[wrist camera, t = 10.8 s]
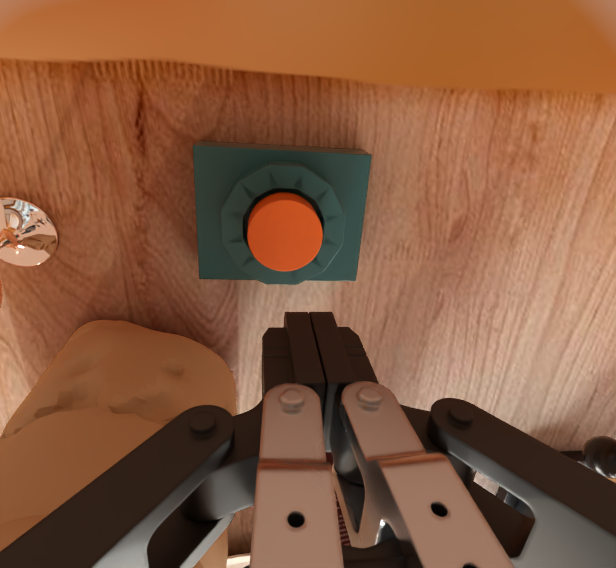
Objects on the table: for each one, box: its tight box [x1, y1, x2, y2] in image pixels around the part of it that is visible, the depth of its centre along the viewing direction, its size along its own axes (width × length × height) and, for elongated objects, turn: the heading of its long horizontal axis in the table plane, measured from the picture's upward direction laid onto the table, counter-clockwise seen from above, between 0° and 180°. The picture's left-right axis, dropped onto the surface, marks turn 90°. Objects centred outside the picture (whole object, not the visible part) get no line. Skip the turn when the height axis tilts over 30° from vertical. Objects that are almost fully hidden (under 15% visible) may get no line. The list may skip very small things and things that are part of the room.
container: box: [0, 320, 236, 568], centre depth 23 cm, size 13×13×18 cm
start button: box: [247, 192, 323, 271], centre depth 23 cm, size 4×4×2 cm
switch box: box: [193, 141, 372, 285], centre depth 25 cm, size 10×8×4 cm
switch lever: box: [582, 436, 616, 483], centre depth 33 cm, size 14×3×3 cm, turn 176°
